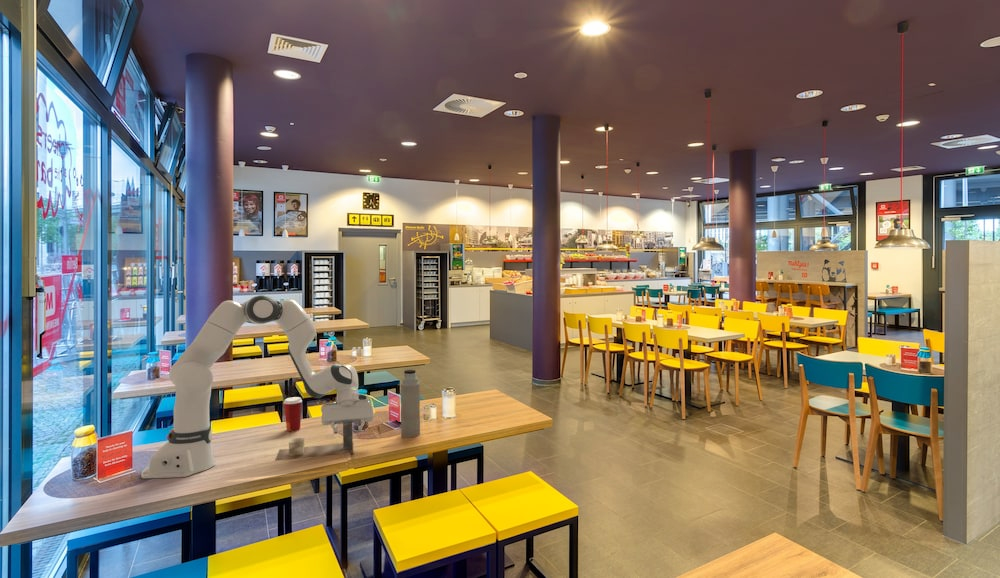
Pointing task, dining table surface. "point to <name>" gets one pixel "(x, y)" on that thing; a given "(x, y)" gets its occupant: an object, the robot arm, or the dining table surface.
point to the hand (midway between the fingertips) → (347, 431)
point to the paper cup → (293, 413)
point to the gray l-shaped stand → (324, 447)
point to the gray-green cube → (296, 446)
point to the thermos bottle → (410, 404)
